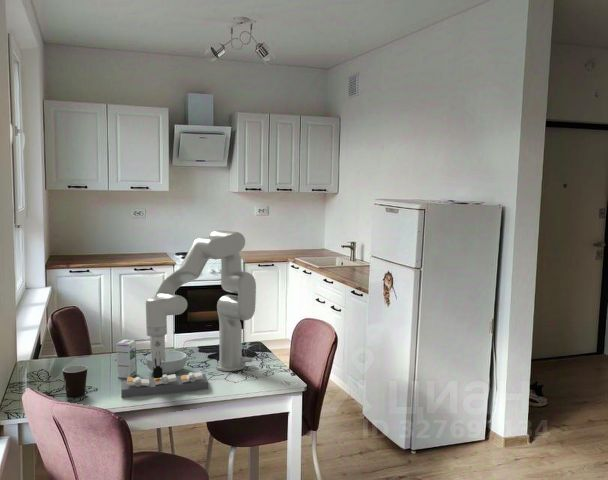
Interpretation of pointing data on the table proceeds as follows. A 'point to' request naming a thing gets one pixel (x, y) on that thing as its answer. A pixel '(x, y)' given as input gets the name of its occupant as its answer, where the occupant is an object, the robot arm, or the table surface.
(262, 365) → the table surface
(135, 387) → the switch panel
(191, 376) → the rocker
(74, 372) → the coffee mug
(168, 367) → the cereal bowl
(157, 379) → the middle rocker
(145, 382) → the rocker
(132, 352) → the syrup box
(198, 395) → the table surface
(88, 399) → the table surface
